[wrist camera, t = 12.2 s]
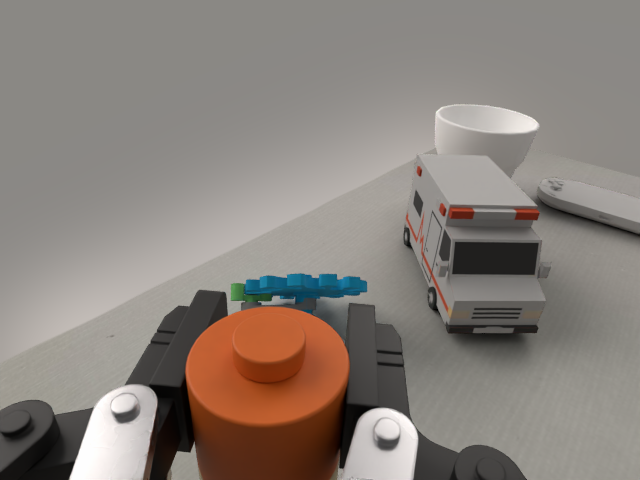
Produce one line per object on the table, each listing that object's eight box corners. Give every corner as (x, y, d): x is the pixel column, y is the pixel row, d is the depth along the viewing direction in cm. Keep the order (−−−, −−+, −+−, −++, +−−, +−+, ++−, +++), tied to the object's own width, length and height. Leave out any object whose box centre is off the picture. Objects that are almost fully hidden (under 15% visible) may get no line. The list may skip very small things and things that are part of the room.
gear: (367, 282, 41) (365, 262, 31) (369, 348, 40) (368, 349, 30) (249, 285, 42) (212, 267, 32) (248, 350, 41) (209, 351, 31)
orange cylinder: (202, 630, 13) (158, 400, 8) (224, 503, 16) (203, 283, 11) (327, 632, 13) (359, 407, 8) (325, 506, 16) (347, 289, 11)
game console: (533, 187, 59) (550, 170, 65) (527, 204, 60) (545, 185, 66) (698, 235, 50) (701, 210, 55) (687, 254, 51) (692, 227, 57)
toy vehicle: (433, 342, 37) (459, 240, 32) (394, 234, 52) (407, 152, 47) (544, 341, 38) (587, 241, 33) (474, 235, 52) (495, 155, 47)
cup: (468, 173, 68) (486, 100, 63) (535, 208, 59) (563, 126, 53) (403, 186, 63) (415, 108, 58) (465, 227, 54) (487, 138, 48)
